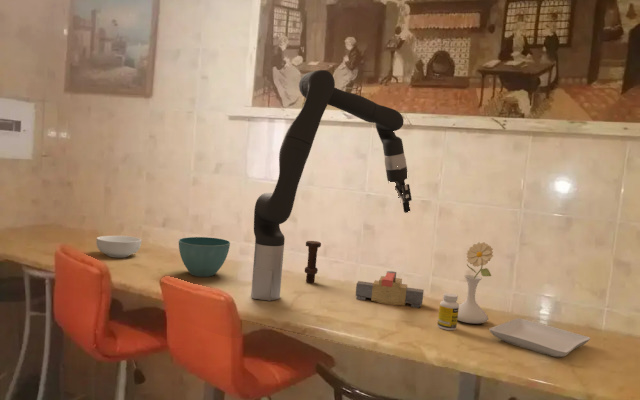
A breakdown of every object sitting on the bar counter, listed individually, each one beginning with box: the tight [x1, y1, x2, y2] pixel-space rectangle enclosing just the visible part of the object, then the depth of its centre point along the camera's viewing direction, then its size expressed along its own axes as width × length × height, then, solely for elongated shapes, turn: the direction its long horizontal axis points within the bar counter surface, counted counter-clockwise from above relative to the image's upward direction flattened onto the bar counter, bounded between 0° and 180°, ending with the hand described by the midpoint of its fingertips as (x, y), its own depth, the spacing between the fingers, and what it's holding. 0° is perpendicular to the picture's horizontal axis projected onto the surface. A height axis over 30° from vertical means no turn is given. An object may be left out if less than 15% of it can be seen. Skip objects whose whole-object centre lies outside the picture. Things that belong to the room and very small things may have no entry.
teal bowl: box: [178, 236, 231, 278], centre depth 203 cm, size 18×18×12 cm
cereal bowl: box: [95, 235, 142, 259], centre depth 223 cm, size 17×17×7 cm
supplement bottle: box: [437, 292, 460, 331], centre depth 163 cm, size 5×5×10 cm
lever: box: [381, 270, 397, 287], centre depth 181 cm, size 16×3×3 cm, turn 167°
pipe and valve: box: [355, 275, 425, 309], centre depth 187 cm, size 7×22×8 cm, turn 77°
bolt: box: [304, 240, 322, 284], centre depth 205 cm, size 6×5×15 cm
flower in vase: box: [457, 242, 494, 325], centre depth 170 cm, size 13×11×25 cm
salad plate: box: [488, 317, 591, 358], centre depth 156 cm, size 21×21×3 cm
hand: (402, 210), depth 204 cm, fingers open, 8 cm apart
